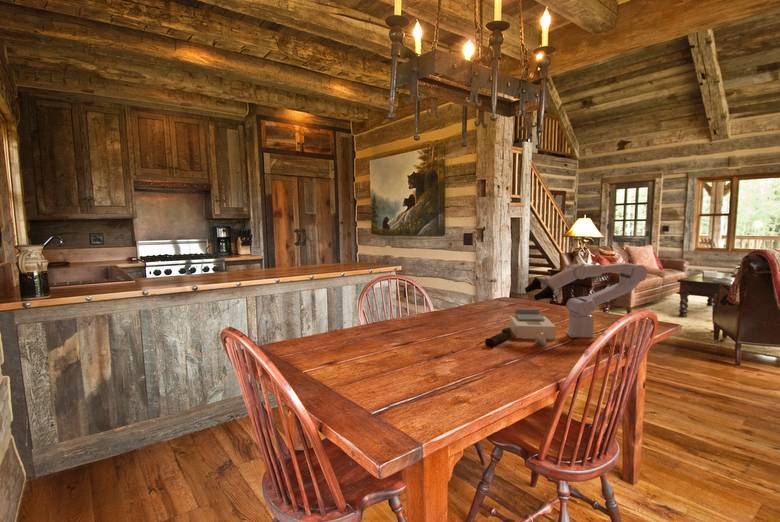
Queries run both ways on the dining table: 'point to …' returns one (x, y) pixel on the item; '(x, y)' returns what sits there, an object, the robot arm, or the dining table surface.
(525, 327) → the housing
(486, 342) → the hand tool
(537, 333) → the peg
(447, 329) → the dining table surface
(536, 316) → the cover
